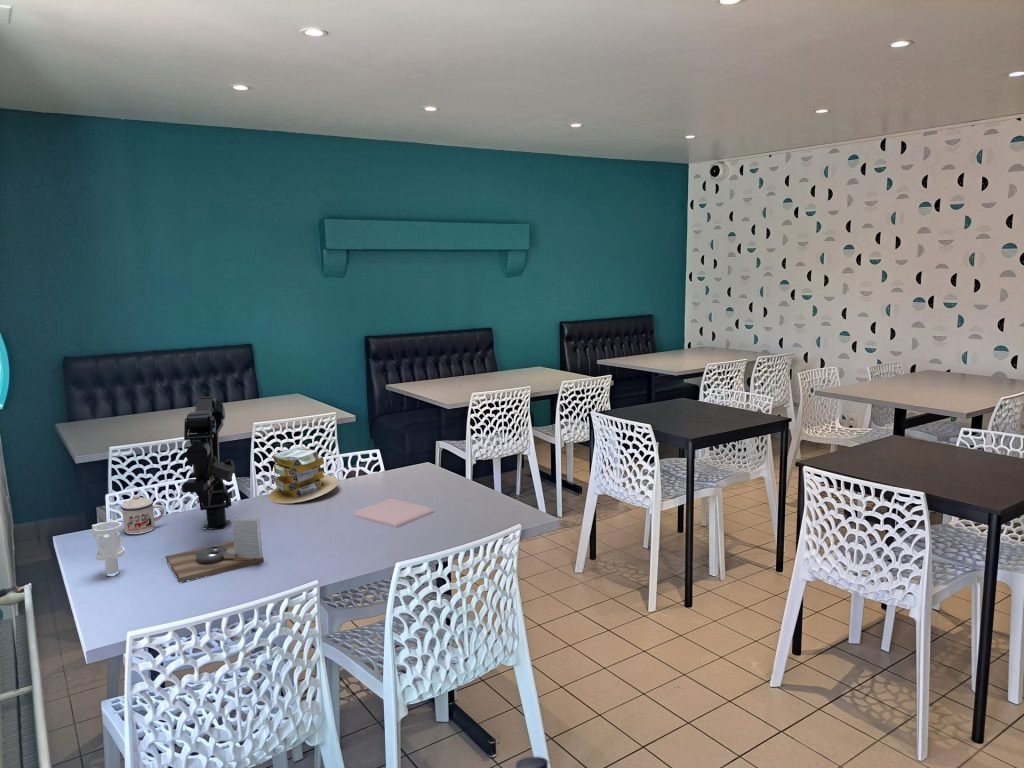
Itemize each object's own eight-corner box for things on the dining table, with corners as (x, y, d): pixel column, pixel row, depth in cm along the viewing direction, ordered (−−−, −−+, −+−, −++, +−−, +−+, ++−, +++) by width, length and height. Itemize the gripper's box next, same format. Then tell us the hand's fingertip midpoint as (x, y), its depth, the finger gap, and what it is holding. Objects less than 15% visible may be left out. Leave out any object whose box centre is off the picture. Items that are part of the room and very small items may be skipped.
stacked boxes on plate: (276, 509, 252) (272, 462, 249) (262, 490, 273) (259, 446, 270) (346, 497, 263) (344, 452, 260) (328, 479, 285) (326, 437, 282)
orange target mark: (234, 560, 205) (234, 558, 205) (236, 558, 207) (236, 557, 206) (252, 560, 205) (251, 559, 205) (253, 558, 206) (253, 557, 206)
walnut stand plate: (166, 561, 209) (165, 556, 209) (245, 543, 222) (245, 538, 221) (180, 583, 195) (179, 577, 194) (263, 562, 207) (263, 557, 207)
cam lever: (190, 563, 203) (187, 524, 201) (204, 551, 210) (201, 514, 209) (255, 563, 201) (252, 524, 200) (266, 552, 209) (263, 514, 207)
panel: (374, 498, 264) (374, 492, 263) (444, 515, 244) (444, 509, 244) (294, 527, 236) (293, 520, 236) (365, 550, 216) (365, 542, 216)
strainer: (94, 574, 201) (88, 522, 199) (122, 566, 206) (116, 515, 203) (102, 582, 196) (96, 528, 194) (130, 573, 201) (125, 521, 198)
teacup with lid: (125, 538, 227) (121, 502, 226) (122, 529, 235) (118, 494, 233) (167, 530, 234) (163, 494, 232) (163, 521, 241) (160, 487, 239)
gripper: (218, 463, 207) (222, 516, 210) (240, 446, 226) (244, 495, 228) (178, 464, 207) (183, 517, 210) (204, 447, 226) (208, 496, 228)
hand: (207, 506), depth 219 cm, fingers closed
